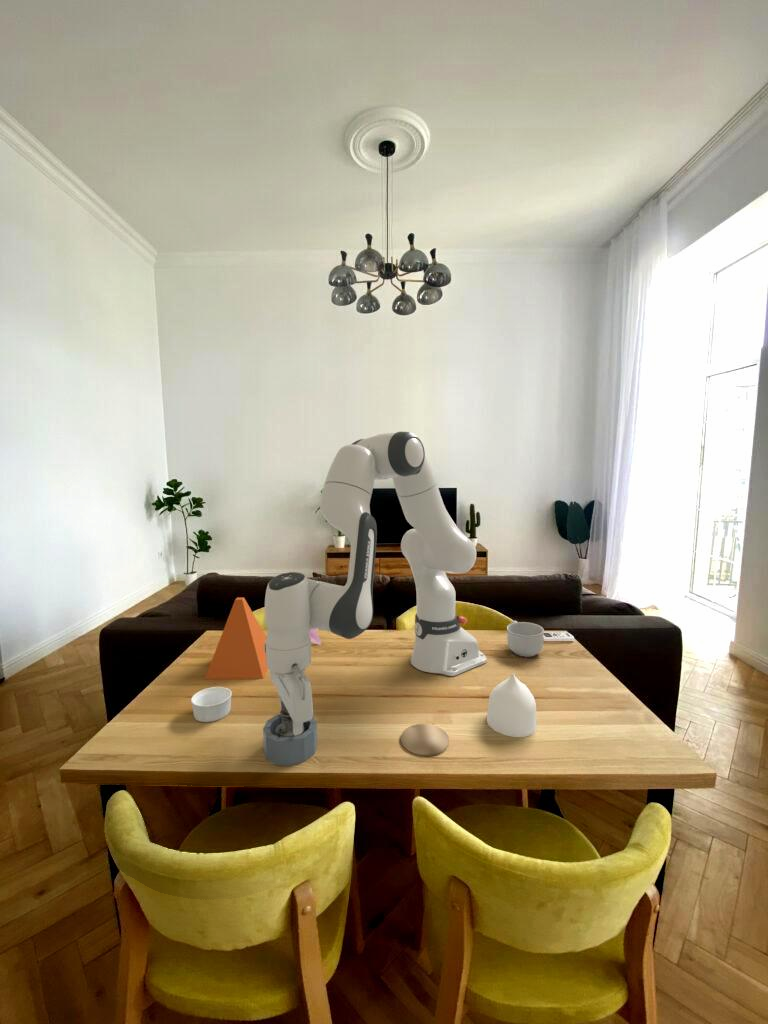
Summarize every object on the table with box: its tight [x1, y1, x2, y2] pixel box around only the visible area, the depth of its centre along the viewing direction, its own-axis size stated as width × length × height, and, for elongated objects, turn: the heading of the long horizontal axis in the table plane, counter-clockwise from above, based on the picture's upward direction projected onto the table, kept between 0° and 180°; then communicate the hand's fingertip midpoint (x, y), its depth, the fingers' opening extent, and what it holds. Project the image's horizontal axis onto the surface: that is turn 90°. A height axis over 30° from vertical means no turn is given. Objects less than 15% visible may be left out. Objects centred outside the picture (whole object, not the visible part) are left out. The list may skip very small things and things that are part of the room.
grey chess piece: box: [275, 701, 304, 738], centre depth 91 cm, size 6×6×12 cm
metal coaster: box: [400, 723, 450, 757], centre depth 95 cm, size 10×10×1 cm
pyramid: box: [204, 597, 269, 680], centre depth 128 cm, size 16×16×20 cm
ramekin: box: [190, 686, 233, 723], centre depth 105 cm, size 9×9×4 cm
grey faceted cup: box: [262, 713, 318, 767], centre depth 92 cm, size 10×10×5 cm
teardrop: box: [486, 672, 538, 738], centre depth 101 cm, size 11×11×12 cm
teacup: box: [506, 620, 545, 658], centre depth 139 cm, size 14×11×8 cm
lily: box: [309, 627, 322, 646], centre depth 145 cm, size 12×12×10 cm
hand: (290, 720), depth 91 cm, fingers open, 8 cm apart
